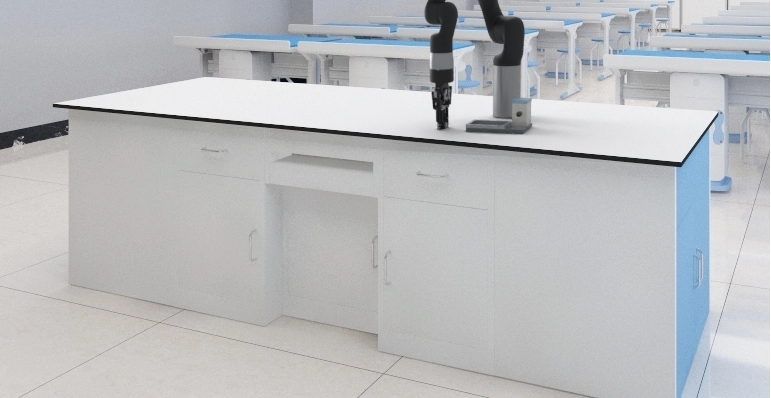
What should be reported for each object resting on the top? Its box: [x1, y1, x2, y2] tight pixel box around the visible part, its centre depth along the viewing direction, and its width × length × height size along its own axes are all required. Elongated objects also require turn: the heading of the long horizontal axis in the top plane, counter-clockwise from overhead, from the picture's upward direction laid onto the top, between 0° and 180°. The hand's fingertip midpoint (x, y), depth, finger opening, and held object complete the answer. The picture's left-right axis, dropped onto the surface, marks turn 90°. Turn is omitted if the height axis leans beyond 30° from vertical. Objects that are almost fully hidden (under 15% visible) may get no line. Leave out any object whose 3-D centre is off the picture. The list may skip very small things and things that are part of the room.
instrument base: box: [465, 97, 533, 135], centre depth 290 cm, size 13×18×9 cm
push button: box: [436, 96, 452, 130], centre depth 294 cm, size 7×5×10 cm
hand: (442, 120), depth 295 cm, fingers closed on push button, 4 cm apart
